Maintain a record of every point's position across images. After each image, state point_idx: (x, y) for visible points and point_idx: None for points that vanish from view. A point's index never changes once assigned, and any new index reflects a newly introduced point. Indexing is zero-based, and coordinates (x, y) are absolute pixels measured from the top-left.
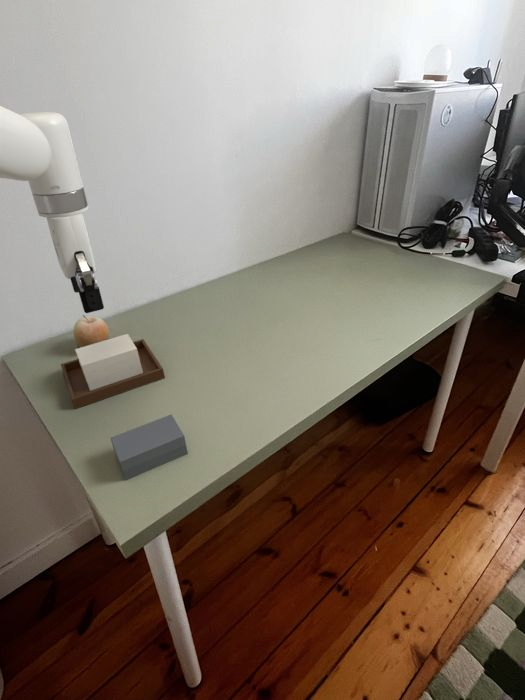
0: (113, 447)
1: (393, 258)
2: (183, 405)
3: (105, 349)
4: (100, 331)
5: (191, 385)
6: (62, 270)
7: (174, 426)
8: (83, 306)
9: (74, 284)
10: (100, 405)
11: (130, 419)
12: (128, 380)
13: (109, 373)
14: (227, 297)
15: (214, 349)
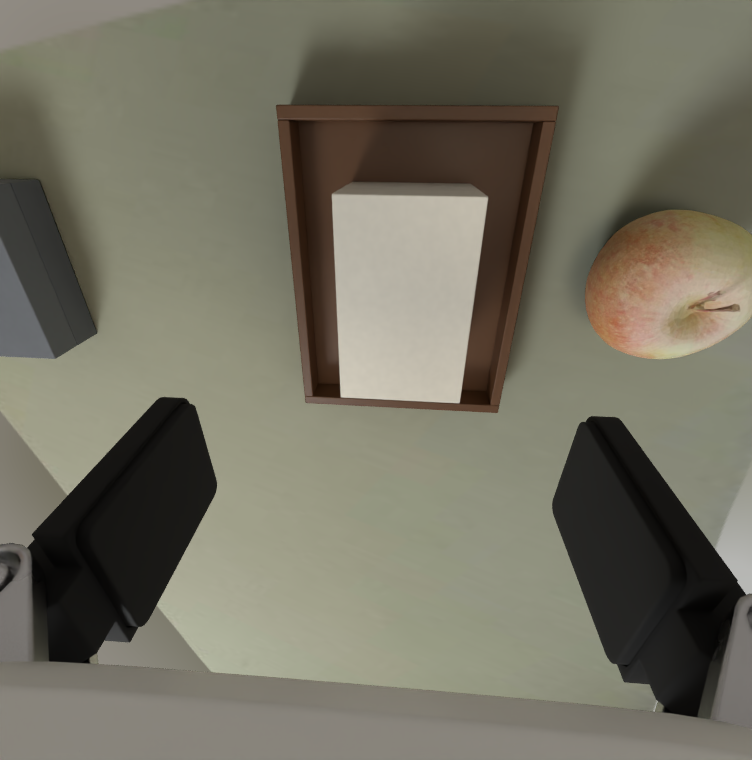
0: (9, 182)
1: None
2: (185, 380)
3: (399, 310)
4: (603, 324)
5: (252, 420)
6: (250, 746)
7: (6, 348)
8: (133, 428)
9: (607, 475)
10: (272, 194)
11: (175, 256)
12: (296, 309)
13: None
14: (567, 609)
15: (366, 506)
